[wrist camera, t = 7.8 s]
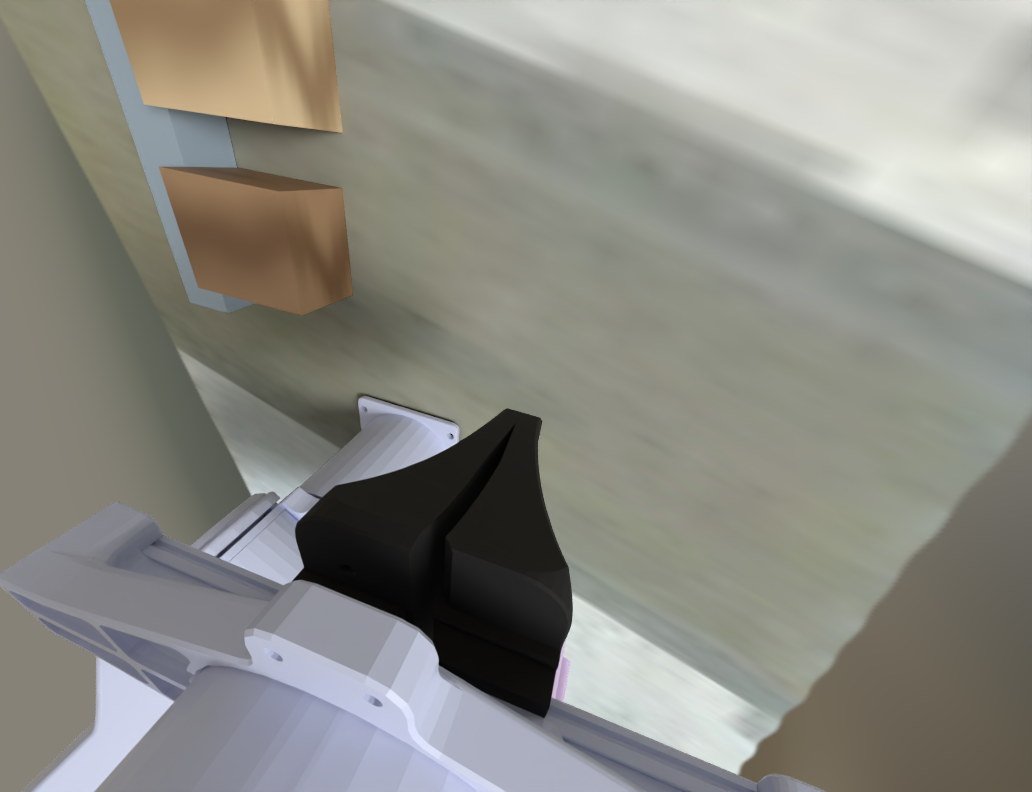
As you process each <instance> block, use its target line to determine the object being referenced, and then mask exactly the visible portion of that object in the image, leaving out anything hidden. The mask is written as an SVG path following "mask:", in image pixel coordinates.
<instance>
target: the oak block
mask: <svg viewBox="0 0 1032 792" xmlns="http://www.w3.org/2000/svg"><path fill="white" fill-rule="evenodd" d="M109 1H110V4H111V7H112V10H113V13H114V16H115V19H116V22H117V25H118V28H119V31H120V34H121V37H122V40H123V43H124V46H125V49H126V52H127V55H128V58H129V61H130V64H131V67H132V70H133V73H134V76H135V79H136V82H137V85H138V88H139V91H140V94H141V97H142V100H143V103H144V105H151V106H157V107H164V108H171V109H177V110H184V111H191V112H197V113H204V114H211V115H217V116H224V117H231V118H237V119H244V120H250V121H257V122H264V123H270V124H278V125H286V126H293V127H301V128H309V129H317V130H325V131H333V132H340V133H343V132H342V123H341V113H340V104H339V94H338V85H337V75H336V66H335V56H334V47H333V37H332V28H331V18H330V9H329V0H109Z"/></svg>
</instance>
